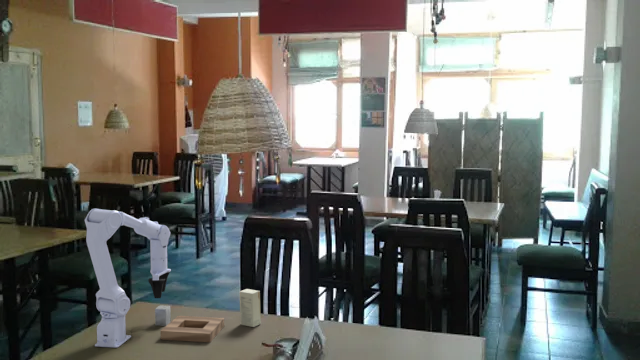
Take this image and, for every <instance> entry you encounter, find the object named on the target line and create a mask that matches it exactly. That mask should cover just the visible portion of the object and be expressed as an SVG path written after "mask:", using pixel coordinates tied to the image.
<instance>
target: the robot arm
mask: <svg viewBox="0 0 640 360" xmlns="http://www.w3.org/2000/svg"><path fill="white" fill-rule="evenodd" d="M84 224H85V227H86V239H85V241H86V246H87V249H88V252H89V255H90V259H91V263H92V265H93V270H94V273H95V276H96V280H97V283H98V286H99V289H98V291H96V293H95V297H96V302H95V305H96V309H97V310H98V312H100V313H99V314H100V315H101V320H100V322H99V323H97V326H96V339H97V340H96V341H97V342H96V343H95V344H94V347H101V348H119V347H120V346H122V345H123V344H124V343H125V342H126V341H128V340H129V339H131V338H132V335H128V334H126V333H127V330H126V329H127V327H126V315H127V313H128V312H129V311H130V308H131V300H130V298H129V297H128V296H127V294H126V292H125V290H124V289H123V288H122V287H121V286H120V285H119V284H118V281H117V277H116V273H115V269H114V265H113V263H112V259H111V255H110V252H109V247H108V245H107V241H108V240H109V239H110V238H112V236H113V235H114V234H115V233H116V232H117V230H118V229H119V228H120V227H122V226H125V227H128V228H132V229H133V230H134V232H135V233H136V234H137V235H140V236H143V237H146V238H147V239H148V240H149V241H150V243H149V245H150V246H149V247H150V274H151V275H152V277H151V278H150V277H149V278H148V279H147V280H148V284H149V285H150V287H151V290H152V292H153V293H152V294H153V298H154V299H161V298H162V293H165V291H166V287H167V280H168V277H169V275H170V272H171V271H172V269H171V268H168V245H169V239H170V237H171V231H170V228H169V227H168V226H167V225H165V224H159V222H158V221H152V220H150V217H147V216H144V217H140V218H136V217H134V216H132V215H129V214H127V213H125V212H123V211H118V210H115V209H114V210H110V209H101V208H91V210H89V211H88V213H87V215H86V217H85V218H84Z"/></svg>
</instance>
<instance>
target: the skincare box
mask: <svg viewBox="0 0 640 360" xmlns="http://www.w3.org/2000/svg"><path fill="white" fill-rule="evenodd" d="M260 292H261V291H260V290H256V289H252V288H251V289H250V288H245V289H243V290H240V291H239V314H240V315H239V318H240V319H239V320H240V325H241V326H247V327H252V328H255V327H257V326H259V325H261V324H262V319H261V318H262V317H261V315H262V314H261V293H260Z"/></svg>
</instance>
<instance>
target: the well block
mask: <svg viewBox="0 0 640 360" xmlns="http://www.w3.org/2000/svg"><path fill="white" fill-rule="evenodd" d="M224 327H225V317H212V316H211V317H210V316H192V315H191V316H187V315H177V316H176V317H175V318H174V319H172V320H171V322H170V323H169V324H168V325H167V326H163V328H162V329H161V330H160V340H163V341H175V342H176V341H178V342H193V343H194V342H195V343H196V342H197V343H212V341H213V340H214V339H215V337H216V336H217V335H219V334H220V332H221V331H222V330H223V329H224Z"/></svg>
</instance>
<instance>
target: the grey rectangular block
mask: <svg viewBox="0 0 640 360" xmlns="http://www.w3.org/2000/svg"><path fill="white" fill-rule="evenodd" d="M154 316H155V317H154V319H155V320H154V321H155V326H161V327H162V326H163V327H166V326H167V325H168V324H169V323H170V322H171V321H172V317H171V316H172V314H171V305H162V304H161V305H160V304H159V305H158V306H157V307H156V308H154Z"/></svg>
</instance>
